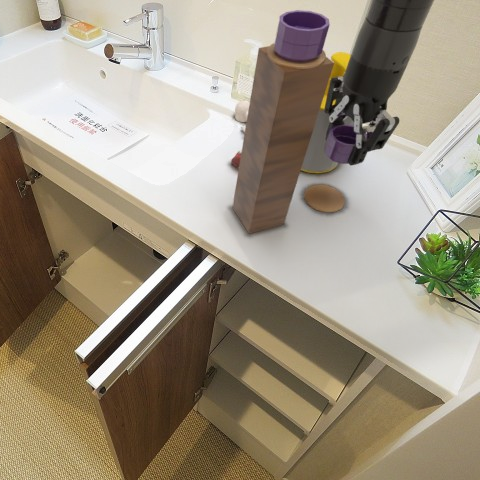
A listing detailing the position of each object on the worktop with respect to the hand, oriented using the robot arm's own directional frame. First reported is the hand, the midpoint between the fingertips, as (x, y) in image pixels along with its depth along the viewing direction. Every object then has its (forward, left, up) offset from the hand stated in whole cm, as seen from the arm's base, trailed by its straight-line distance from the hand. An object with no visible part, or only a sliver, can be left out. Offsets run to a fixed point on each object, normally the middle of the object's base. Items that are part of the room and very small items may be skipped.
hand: (342, 151), depth 70 cm
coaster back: (0, 0, -11) cm, 11 cm away
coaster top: (0, +14, +19) cm, 24 cm away
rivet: (+21, +5, -11) cm, 24 cm away
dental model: (+14, +9, -11) cm, 20 cm away
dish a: (0, +14, +19) cm, 24 cm away
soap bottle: (+12, -5, -11) cm, 17 cm away
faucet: (+22, +2, -13) cm, 25 cm away
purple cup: (0, 0, -1) cm, 1 cm away
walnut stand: (0, +14, -11) cm, 18 cm away
